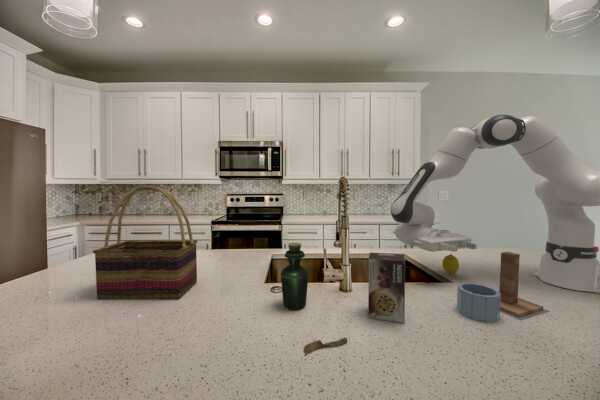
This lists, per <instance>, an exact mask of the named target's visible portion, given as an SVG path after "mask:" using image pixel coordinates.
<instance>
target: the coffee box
mask: <svg viewBox="0 0 600 400" xmlns="http://www.w3.org/2000/svg"><path fill="white" fill-rule="evenodd" d="M367 261H368V298H367V299H368V303H367V304H368V311H367V312H368V314H367V317H368V318H369V319H376V320H382V321H389V322H393V323H394V322H395V323H402V324H405V322H406V321H405V320H406V319H405V316H406V313H405V308H406V304H405V303H406V298H405V297H406V291H405V290H406V287H405V286H406V259H405V256H404V254H397V253H386V252H385V253H384V252H369V254H368V260H367Z"/></svg>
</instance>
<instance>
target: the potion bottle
mask: <svg viewBox="0 0 600 400" xmlns="http://www.w3.org/2000/svg"><path fill="white" fill-rule="evenodd" d="M287 247H288V250H286V251H285V253H284V257H285V258H286V259H287V261H288V263H289V265H287V266H286V267H284V268H283V269H282V270H281V272H280V282H281V292H282V293H281V294H282V305H283V306H284V308H285V309H287V310H290V311H300V310H302V309H304V308H305V307H306V306H307V296H308V295H307V294H308V283H309V274H310V273H309V271H308V269H307V268H306V267H304V266H302V265H301V261H302V259H303V258H305V256H306V255H305V251H303V250H301V247H302V243H301V242H290V243H288V244H287Z"/></svg>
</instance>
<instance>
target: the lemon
mask: <svg viewBox="0 0 600 400" xmlns="http://www.w3.org/2000/svg"><path fill="white" fill-rule="evenodd" d="M442 268H443V270H444V271H445V272H446V273H448V274H449V275H452V274H455V273H457V272H458V271H459V268H460V261H459V260H458V258H457V257H456V256H455V255H454V254H449V255H446V256H444V257H443V260H442Z"/></svg>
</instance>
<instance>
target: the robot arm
mask: <svg viewBox="0 0 600 400" xmlns="http://www.w3.org/2000/svg"><path fill="white" fill-rule="evenodd" d="M507 145H510V146H511V147H513V148H514V149H515V151H516V152H517V153H518V154H519V156H520V158H521V159H522V160H523V161H524V162H525V164H526V165H527V166H528V167H529V169H530V170H531V171H532V172H533V173H535V174H537V175H540V176H541V177H543V178H541V179H539V181H538V182H536V184H535V186H534V193H535V196H536V197H537V198H538V199H539V200H540V201H541V203H542V204H543V207H544V210H545V212H546V216H547V223H548V225H547V226H548V227H547V228H548V229H547V231H548V232H547V241H545V242H546V243H545V253H544V254H542V255H541V256H540V260H539V268H538V271H535V272H534V277H537V278H539V280H540V281H543V282H544V283H546V284H549V285H552V286H554V287H558V288H559V287H560V288H564V289H567V290H572V291H579V292H580V291H581V292H589V293H597V294H600V261H599V260H598V259H597V256H598V255H597V253H598V252H599V250H600V249H599V246H596V245H595V237H596V236H595V234H596V233H595V232H596V225H595V223H594V221H593V220H591V219H590V218H589V217H588V216H587V215H586V212H585V210H584V207H599V206H600V170H599V169H597V168H594V167H593V166H591V165H590V164H588V163H586V162H585V161H584V160H582V159H581V158H579V157H578V156H576V154H574V153H573V152H572V151H571V150H570V148H568V146H567V145H566V144H565V143H564V141H562V139H561V138H560V137H559V136H558V134H557V133H556V132H555V131H554V130H553V129H552V128H551V127H550V126H549V125H548V123H546V122H545V121H543V120H542V119H541V118H539V117H538V116H535V115H528V116H524V117H520V118H517V117H515V116H513V115H510V114H497V115H493V116H490V117H488V118H485V119H483V120H482V121H480V122H477V123H476V124H474V125H473V126H472V127H470V128H469V127H466V126H464V127H463V126H462V127H461V126H460V127H455V128H452V129H451V130H450V132H449V133H448V134H447V135H446V137H445V138H444V139H443V141H442V142H441V144H440V146H439V147H438V149H437V150H436V152H435V154H434V155H433V156H432V158H431V159H430V160H429V161H428V162H424V163H423V164H422V165H421V166H420V167H419V169H418V170H417V171H416V172H415V173H414V175H413V176H412V178H411V180H410V181H409V182H408V184H407V185H406V187H405V188H404V189H403V191H402V192H401V194H399V196H397V198H395V200H394V201H393V203H391V206H390V215H391V217H392V219H393V220H394V221H395V222H396V223H399V224H397V226H396V227H395V228H394V235H395V237H396V239H397V240H398V241H399V242H401V243H402V244H405V245H407V246H411V247H414V248H415V247H417V248H419V249H421V250H424V251H427V252H431V253H432V252H433V253H434V252H440V251H441V252H443V251H447V252H448V251H450V252H458V250H459V249H470V250H477V249H478V245H477V243H475V242H474V243H473V242H472V238H471V237H469V236H467V235H462V234H460V233H459V234H458V233H456V232H451V231H450V230H448V229H438V228H435V227H432V226H433V224H434V221H435V217H436V216H435V211H434V209H433V208H432V207H431V206H429V205H427V204H424V203H421V202H417V199H418V198H419V197H420V195H421V194H422V193H423V191H424V189H425V188H426V187H427V185H429V184H430V183H432V182H434V181H437V180H438V181H439V180H445V179H446V180H448V179H451V178H454V177H456V176H458V175H459V174H460V173H461V172H462V170H463V169H464V168H465V166H466V164H467V162H468V160H469V158H470V157H471V154H473V152H474V151H475V150H476V149H495V148H498V147H503V146H507Z"/></svg>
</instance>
